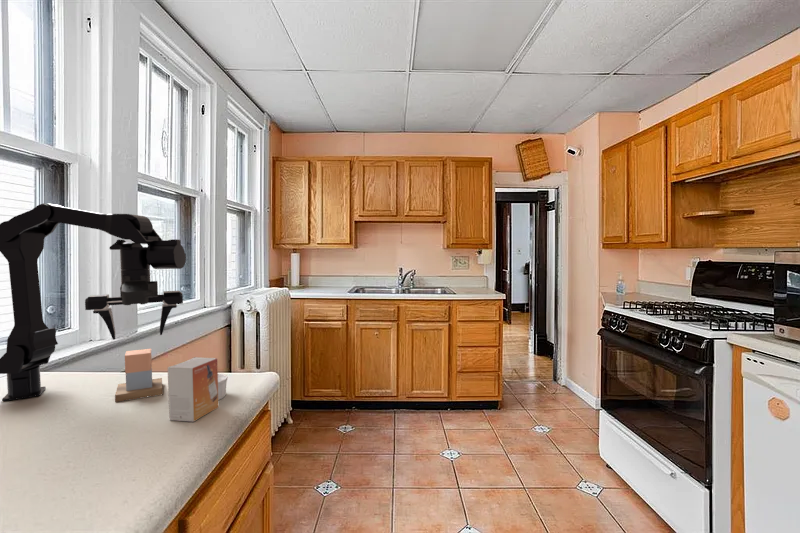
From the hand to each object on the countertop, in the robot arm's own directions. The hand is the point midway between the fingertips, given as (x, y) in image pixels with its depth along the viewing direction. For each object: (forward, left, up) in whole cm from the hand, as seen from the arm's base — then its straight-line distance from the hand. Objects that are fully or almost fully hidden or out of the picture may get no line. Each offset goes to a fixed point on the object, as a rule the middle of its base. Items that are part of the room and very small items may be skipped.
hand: (138, 336), depth 98 cm
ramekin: (+12, +13, -13) cm, 22 cm away
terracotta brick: (0, 0, -8) cm, 8 cm away
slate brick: (0, 0, -12) cm, 12 cm away
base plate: (0, 0, -13) cm, 13 cm away
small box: (+21, +10, -13) cm, 27 cm away
